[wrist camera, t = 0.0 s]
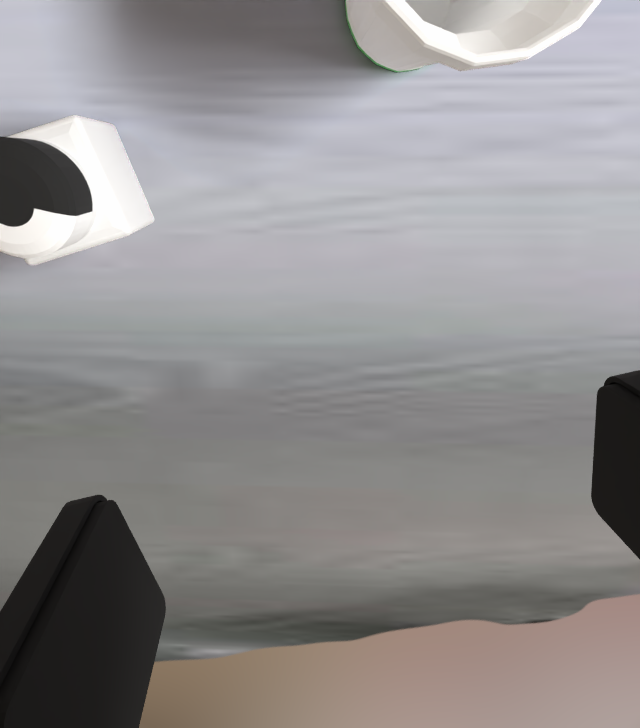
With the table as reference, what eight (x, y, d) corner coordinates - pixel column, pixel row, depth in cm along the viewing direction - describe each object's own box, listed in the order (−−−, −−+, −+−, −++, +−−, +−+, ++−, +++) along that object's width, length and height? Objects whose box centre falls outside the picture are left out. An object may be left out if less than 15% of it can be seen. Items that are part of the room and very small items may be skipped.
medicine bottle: (21, 152, 33) (-103, 148, 22) (114, 122, 33) (36, 103, 22) (71, 248, 36) (-17, 287, 25) (157, 221, 36) (106, 248, 25)
